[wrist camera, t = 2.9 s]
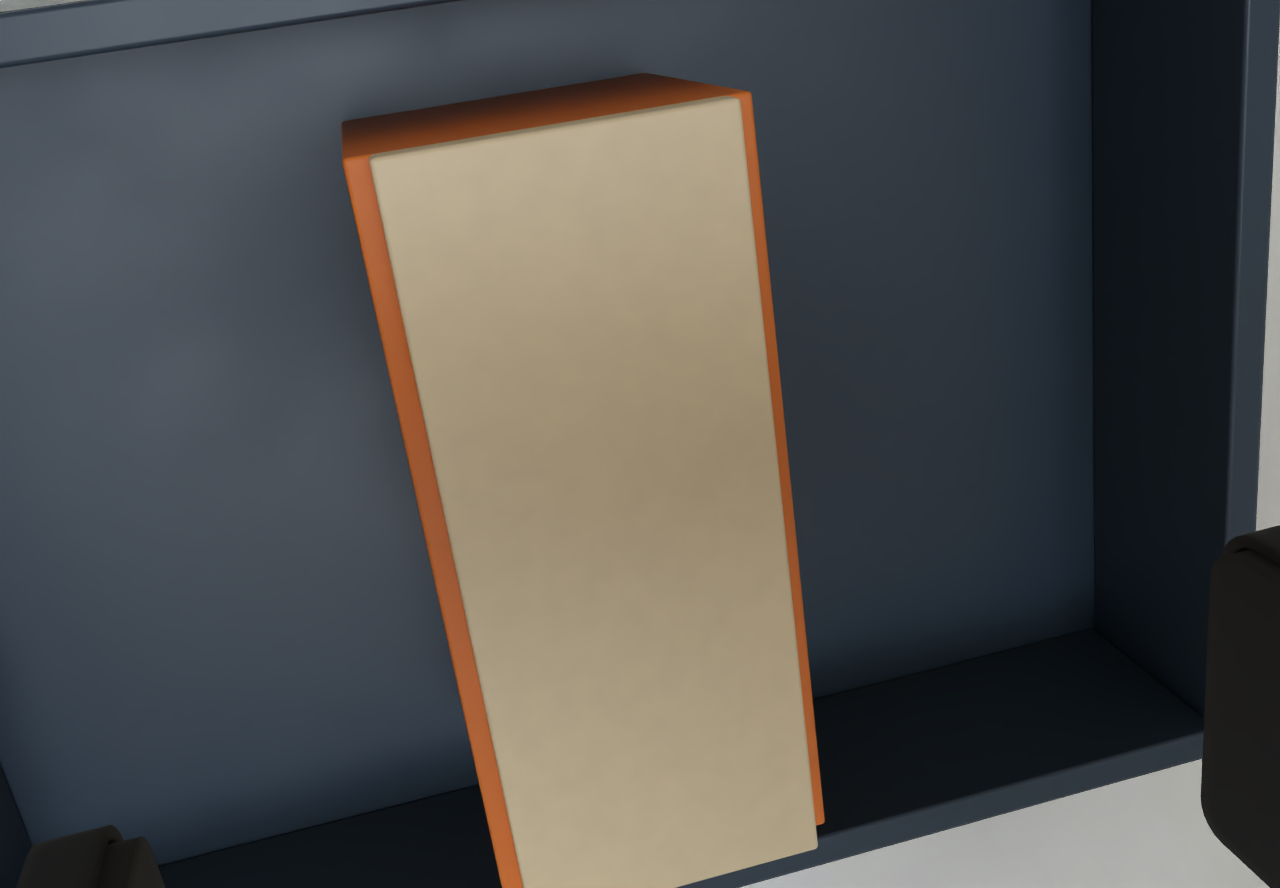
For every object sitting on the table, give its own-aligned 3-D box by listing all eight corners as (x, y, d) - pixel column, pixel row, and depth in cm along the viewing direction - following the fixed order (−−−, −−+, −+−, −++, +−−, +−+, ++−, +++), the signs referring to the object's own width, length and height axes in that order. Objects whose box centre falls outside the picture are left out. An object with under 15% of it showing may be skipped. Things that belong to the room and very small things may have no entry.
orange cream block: (647, 71, 20) (765, 92, 15) (722, 654, 24) (838, 844, 18) (340, 120, 19) (341, 162, 14) (470, 716, 23) (511, 934, 18)
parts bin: (1111, -134, 21) (1291, -168, 17) (1110, 638, 26) (1247, 748, 22) (-305, 67, 17) (-495, 81, 13) (30, 915, 23) (-35, 1104, 19)
